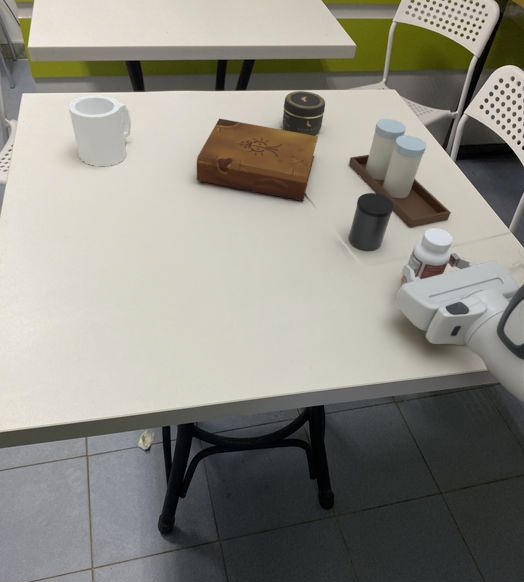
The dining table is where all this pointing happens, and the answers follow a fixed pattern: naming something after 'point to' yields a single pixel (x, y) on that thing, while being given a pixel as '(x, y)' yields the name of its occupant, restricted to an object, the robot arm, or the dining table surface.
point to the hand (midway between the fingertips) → (429, 261)
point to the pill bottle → (431, 254)
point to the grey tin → (370, 221)
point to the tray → (410, 209)
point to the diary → (257, 159)
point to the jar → (303, 112)
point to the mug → (100, 129)
